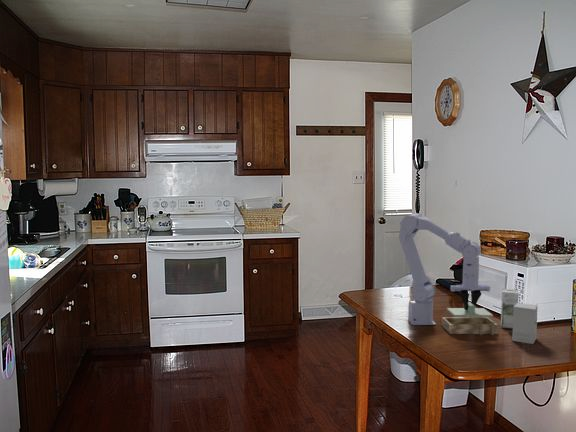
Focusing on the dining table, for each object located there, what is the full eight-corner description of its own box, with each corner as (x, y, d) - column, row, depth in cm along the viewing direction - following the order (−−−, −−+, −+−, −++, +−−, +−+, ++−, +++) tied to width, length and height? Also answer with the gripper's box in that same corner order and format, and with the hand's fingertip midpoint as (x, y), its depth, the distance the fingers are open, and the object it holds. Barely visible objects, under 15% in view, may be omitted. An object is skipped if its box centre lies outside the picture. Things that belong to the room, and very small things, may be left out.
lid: (454, 316, 201) (454, 306, 200) (446, 310, 210) (447, 300, 210) (492, 317, 201) (493, 307, 200) (483, 310, 210) (483, 300, 210)
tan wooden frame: (450, 335, 200) (451, 322, 199) (440, 325, 212) (441, 313, 212) (499, 335, 200) (499, 322, 199) (486, 324, 213) (486, 313, 212)
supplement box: (534, 344, 189) (535, 309, 188) (511, 340, 193) (512, 306, 192) (536, 338, 195) (538, 304, 194) (515, 335, 199) (516, 302, 198)
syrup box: (516, 325, 212) (517, 289, 211) (517, 329, 206) (518, 292, 205) (500, 323, 214) (501, 288, 212) (501, 328, 208) (502, 291, 207)
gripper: (454, 276, 200) (453, 312, 201) (493, 276, 200) (492, 312, 201) (449, 273, 207) (448, 307, 208) (486, 273, 207) (485, 307, 208)
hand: (469, 309), depth 205 cm, fingers closed on lid, 2 cm apart
